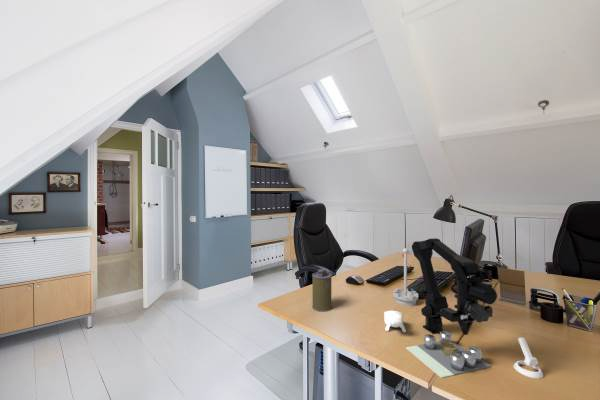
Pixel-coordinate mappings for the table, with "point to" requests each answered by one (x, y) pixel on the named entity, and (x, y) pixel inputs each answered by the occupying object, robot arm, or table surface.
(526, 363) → the white vr controller
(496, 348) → the table surface
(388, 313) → the white footed lump
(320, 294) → the canister
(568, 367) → the table surface
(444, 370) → the mat
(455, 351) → the faceted tan block
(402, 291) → the flag stand
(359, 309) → the table surface
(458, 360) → the spacers
